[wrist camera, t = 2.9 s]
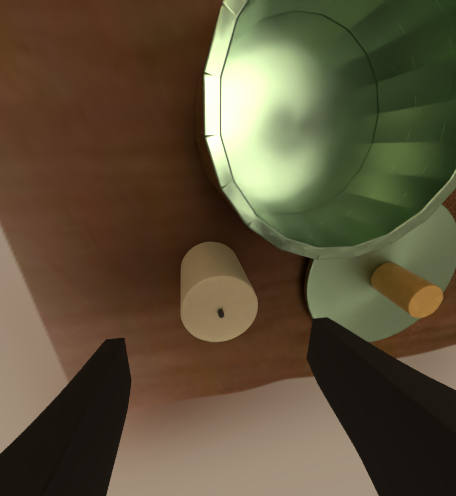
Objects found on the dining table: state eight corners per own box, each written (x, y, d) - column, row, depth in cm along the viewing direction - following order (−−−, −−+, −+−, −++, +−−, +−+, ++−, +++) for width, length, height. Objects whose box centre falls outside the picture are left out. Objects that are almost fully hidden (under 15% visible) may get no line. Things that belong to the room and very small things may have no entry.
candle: (239, 239, 17) (263, 277, 12) (237, 291, 19) (258, 343, 14) (179, 242, 17) (178, 283, 12) (182, 295, 18) (182, 351, 13)
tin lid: (468, 189, 19) (551, 201, 15) (419, 326, 23) (472, 366, 19) (312, 191, 17) (355, 205, 13) (292, 341, 21) (319, 389, 17)
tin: (403, 13, 14) (565, -85, 8) (360, 219, 18) (446, 252, 12) (190, -12, 12) (198, -164, 6) (197, 224, 16) (205, 266, 10)
